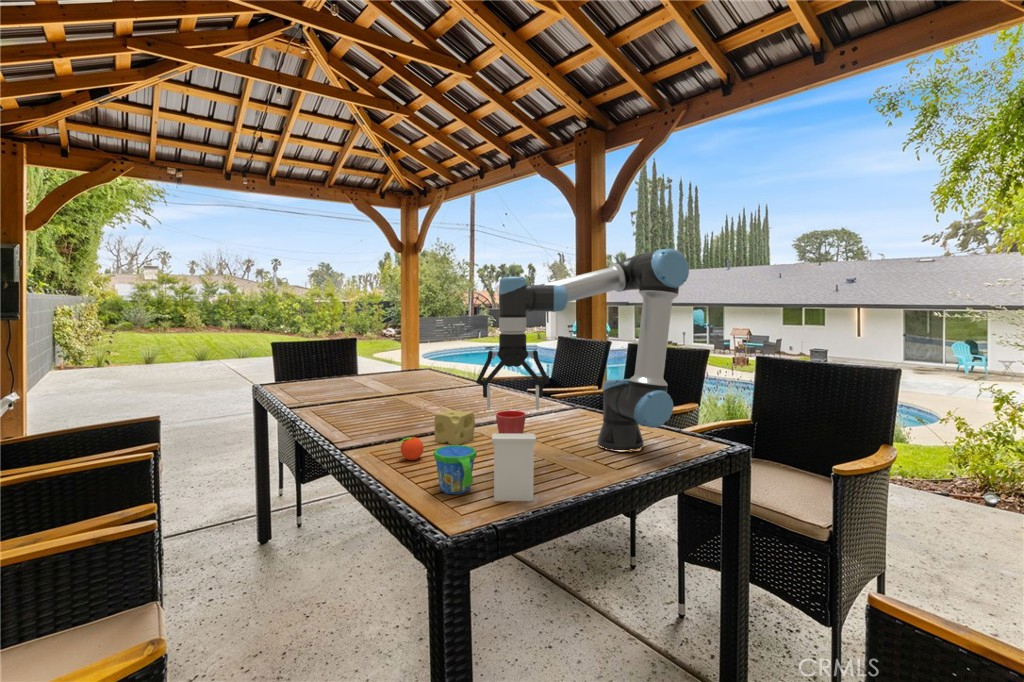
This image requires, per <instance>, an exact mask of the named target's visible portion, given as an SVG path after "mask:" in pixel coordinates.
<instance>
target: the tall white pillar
mask: <svg viewBox="0 0 1024 682" xmlns="http://www.w3.org/2000/svg"><path fill="white" fill-rule="evenodd" d="M491 444H492V445H493V450H494V451H493V501H494V502H534V473H535V472H534V467H535V466H534V464H535V463H534V458H535V456H534V453H535V450H534V449H535V448H534V446H535V445H536V444H537V437H536V433H523V434H499V433H492V435H491Z"/></svg>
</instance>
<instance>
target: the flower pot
mask: <svg viewBox="0 0 1024 682" xmlns="http://www.w3.org/2000/svg"><path fill="white" fill-rule="evenodd" d="M526 417H527V414H526V412H525V411H521V410H502V411H497V412H496V413H495V419H496V424H497V425H496V426H497V431H498V434H524V430H525V423H526Z"/></svg>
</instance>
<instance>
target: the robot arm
mask: <svg viewBox="0 0 1024 682" xmlns="http://www.w3.org/2000/svg"><path fill="white" fill-rule="evenodd" d="M689 275H690V267H689V262H688V260H687V259H686V258H685V257H684V254H683V253H682V252H680V251H679V250H677V249H674V248H660V249H659V248H658V249H657V250H654V251H649V252H644V253H639V254H637V255H633V256H632V257H629V258H626V259H624V260H622V261H619V262H617V261H616V262H614V263H611V264H610V265H609V267H607V268H606V267H605V268H602V269H598V270H595V271H594V270H593V271H590V272H586V273H581V274H578V275H574V276H569V277H567V278H561V279H557V280H554V281H548V282H546V283H545V282H544V283H541V284H528V282H527V278H526V277H524V276H504V277H501V278H500V280H499V284H498V286H499V287H498V307H499V310H498V312H499V315H498V316H499V317H498V324H499V325H498V331H499V332H500V334H499V336H498V339H499V340H498V341H499V342H498V343H499V345H498V347H499V348H498V351H495V350H494V351H493V350H488V352H487V359H486V361H485V362H484V365H483V367H482V369H481V371H480V373H479V375H478V378H477V379H476V385H481V386H482V397H483V398H486V407H487V408H486V410H487V411H490V410H491V385H490V384H489V383H491V381H492V380H493V379H494V378H495V377H496V375H497V374H498V373H499V372H500V371H501V369H503V367H504V366H505V367H507V368H511V367H516V368H518V367H520V366H522V367H523V369H525V370H526V372H527V373H528V374H529V375H530V377H532V379H533V381H535V382H536V384H535V411H536V410H537V411H538V410H540V398H543V396H544V386H545V385H547V384H550V382H551V381H550V379H549V377H548V375H547V373H546V371H545V369H544V366H543V365H542V363H541V360H540V359H539V352H538V351H537V350H536V349H534V350H530V351H528V350H527V334H526V333H525V332H527V313H532V312H535V313H536V312H538V313H542V312H543V313H545V312H547V313H551V312H552V313H555V312H563V311H564V310H565V309H566V308H567V306H568V303H570V302H574V301H578V300H582V299H587V298H590V297H592V296H598V295H601V294H605V293H609V292H614V291H615V292H616V293H621V292H624V291H632V290H633V291H636V290H638V293H639V295H640V296H641V297H642V298H643V299H642V306H641V314H640V315H641V316H640V322H639V323H640V325H639V331H638V334H639V335H638V342H637V351H636V359H635V367H634V374H633V376H631V377H630V378H621V379H620V378H619V379H616V378H615V379H607V380H605V381H604V384H603V389H602V392H603V395H602V396H603V398H602V399H603V401H602V402H603V404H602V405H603V407H602V412H603V415H602V416H603V418H602V421H603V422H602V425H601V428H600V431H599V434H598V436H597V446H598V445H600V446H602V447H604V448H607V449H613V450H630V449H637V448H640V447H642V446H643V447H644V439H643V436H642V433H641V430H640V426H641V427H646V428H651V429H652V428H658V427H661V426H663V425H665V423H666V422H668V421H669V420H670V418H671V416H672V414H673V411H674V402H673V399H672V398H671V395H670V394H669V393H668V383H667V381H666V380H665V379H664V375H665V368H666V359H667V349H668V341H669V332H670V321H671V314H672V305H673V300H674V299H676V298H677V297H678V296H679V291H680V287H681V286H683V285H684V284H685V283H686V282H687V280H688V278H689ZM496 356H497V357H498V358H499V360H500V361H499V363H498V364H497V365H496V366H495V367H494V369H493V370H492V371H491V372H490V374H489V375H488V376H487V377H486V378H485V380H484V379H483V378H484V377H485V374H486V372H487V370H488V368H489V366H490V364H491V363H492V360H494V359H495V358H496ZM528 356H529V357H530V359H533V361H534V363H535V365H536V366H537V368H538V369H537V370H539V373H540V375H541V377H542V379H541V378H540V377H539V376H538V375H537V374H536V372H535V371H533V369H532V368H531V367H530V365H529V364H528V363H527V362H526V361H525V360H526V359H527V358H528Z"/></svg>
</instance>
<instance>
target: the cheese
mask: <svg viewBox="0 0 1024 682" xmlns="http://www.w3.org/2000/svg"><path fill="white" fill-rule="evenodd" d="M475 427H476V418H475V412H473V411H462V410H455V409H451V410H447V411H443V412H439V413H436V414H434V442H435V441H436V442H437V443H441V444H448V445H449V446H450V445H462V444H464V443H467V442H470V441H473V440H474V436H475V435H474V434H475Z"/></svg>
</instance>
